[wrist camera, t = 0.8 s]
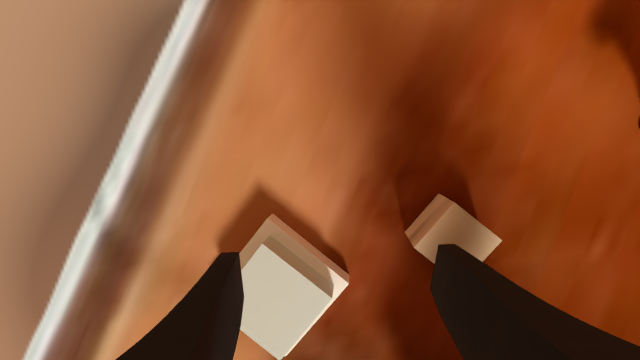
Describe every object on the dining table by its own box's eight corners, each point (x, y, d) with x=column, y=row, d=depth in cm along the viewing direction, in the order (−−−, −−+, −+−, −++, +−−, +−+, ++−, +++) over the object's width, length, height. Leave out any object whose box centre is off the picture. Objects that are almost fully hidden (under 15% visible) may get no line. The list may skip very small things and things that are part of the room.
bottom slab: (349, 272, 31) (349, 283, 28) (291, 340, 32) (285, 356, 29) (274, 212, 31) (267, 217, 28) (219, 281, 32) (208, 293, 30)
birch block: (478, 225, 29) (502, 240, 24) (444, 263, 29) (460, 285, 25) (438, 193, 29) (454, 202, 24) (404, 231, 29) (414, 247, 25)
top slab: (333, 284, 28) (332, 298, 26) (285, 342, 29) (279, 360, 27) (270, 235, 28) (262, 243, 26) (224, 294, 29) (212, 307, 27)
